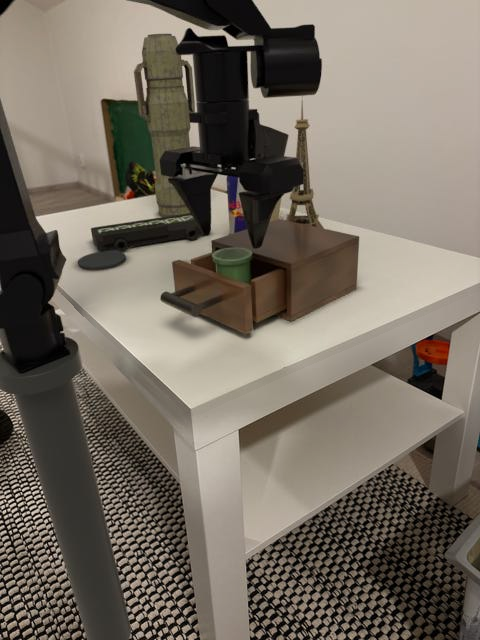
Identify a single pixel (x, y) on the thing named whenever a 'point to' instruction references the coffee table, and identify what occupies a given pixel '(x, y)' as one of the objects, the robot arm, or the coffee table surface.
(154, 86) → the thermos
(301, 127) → the eiffel tower
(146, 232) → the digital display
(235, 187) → the energy drink
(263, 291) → the drawer
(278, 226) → the cabinet
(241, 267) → the green pot
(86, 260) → the coaster
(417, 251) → the coffee table surface
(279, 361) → the coffee table surface
